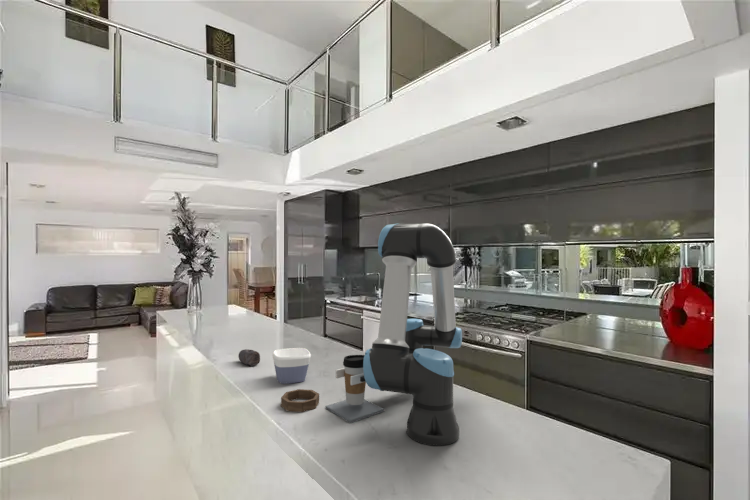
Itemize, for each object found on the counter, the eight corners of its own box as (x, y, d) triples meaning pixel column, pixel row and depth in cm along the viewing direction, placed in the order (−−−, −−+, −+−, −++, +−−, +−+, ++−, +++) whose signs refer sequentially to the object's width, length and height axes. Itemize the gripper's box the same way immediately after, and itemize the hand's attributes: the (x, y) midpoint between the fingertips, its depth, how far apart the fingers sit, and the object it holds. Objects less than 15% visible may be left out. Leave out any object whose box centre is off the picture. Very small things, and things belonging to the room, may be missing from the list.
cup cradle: (324, 405, 124) (324, 396, 124) (292, 414, 116) (293, 405, 116) (306, 395, 133) (307, 387, 133) (276, 403, 125) (276, 394, 126)
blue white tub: (313, 383, 147) (314, 355, 147) (274, 387, 141) (274, 358, 141) (306, 372, 161) (306, 346, 161) (270, 375, 155) (270, 349, 156)
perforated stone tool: (234, 362, 175) (234, 347, 175) (244, 359, 179) (245, 345, 179) (250, 368, 165) (251, 353, 165) (261, 366, 169) (261, 351, 169)
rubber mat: (384, 411, 120) (384, 408, 120) (350, 422, 111) (350, 420, 111) (358, 398, 131) (358, 396, 131) (325, 408, 122) (325, 405, 122)
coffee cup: (364, 407, 116) (365, 360, 117) (339, 405, 118) (340, 358, 118) (370, 397, 125) (370, 354, 125) (346, 395, 126) (347, 352, 127)
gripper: (414, 382, 125) (362, 398, 111) (376, 368, 141) (326, 380, 126) (414, 360, 125) (363, 373, 111) (376, 348, 141) (326, 358, 126)
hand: (343, 377), depth 118 cm, fingers closed on coffee cup, 8 cm apart
